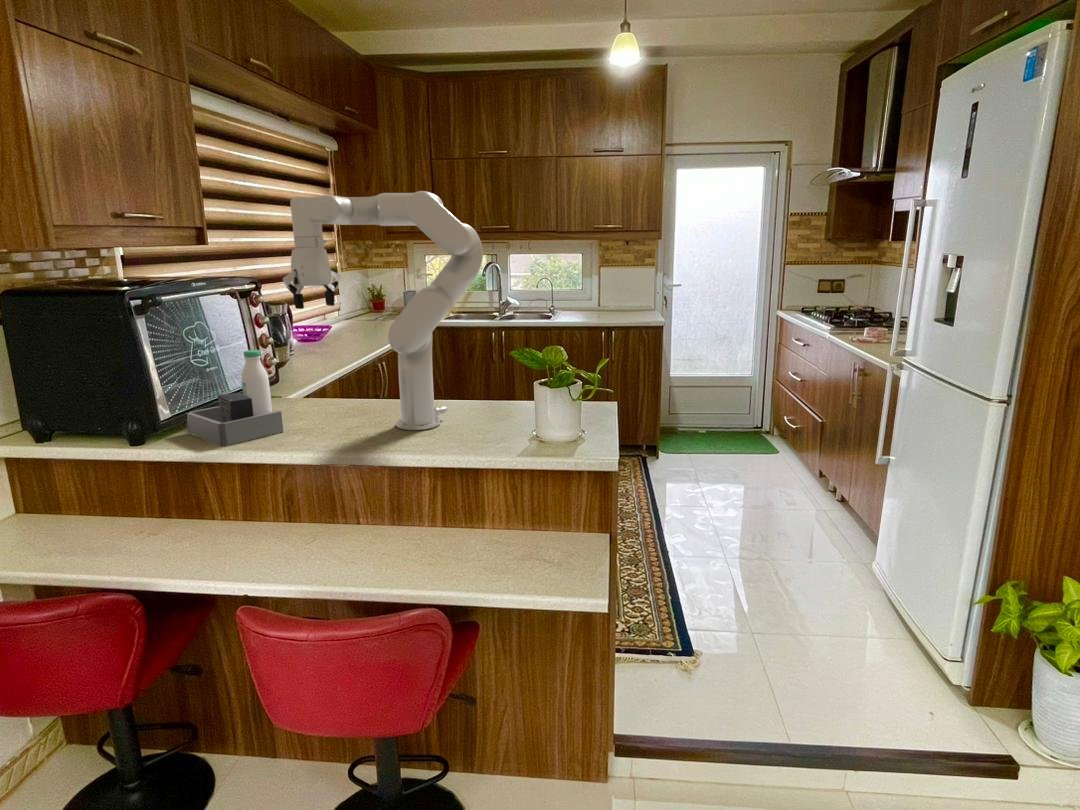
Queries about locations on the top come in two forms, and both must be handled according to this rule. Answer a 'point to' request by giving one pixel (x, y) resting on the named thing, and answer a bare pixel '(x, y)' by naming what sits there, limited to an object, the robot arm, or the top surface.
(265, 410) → the milk bottle
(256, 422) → the tray
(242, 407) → the small box
